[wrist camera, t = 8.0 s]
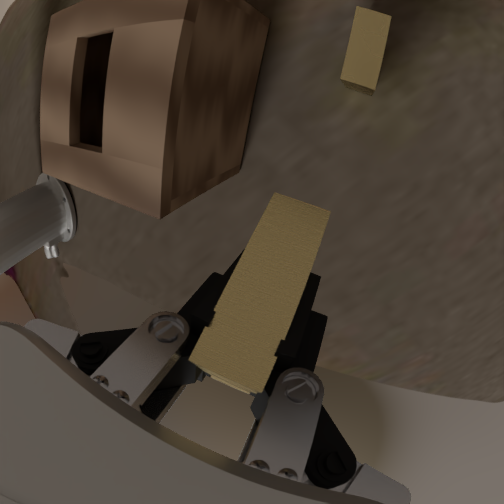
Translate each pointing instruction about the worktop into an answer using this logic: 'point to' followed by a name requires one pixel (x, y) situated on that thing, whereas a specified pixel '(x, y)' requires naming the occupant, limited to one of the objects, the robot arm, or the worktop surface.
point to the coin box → (149, 97)
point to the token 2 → (365, 50)
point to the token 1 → (262, 295)
